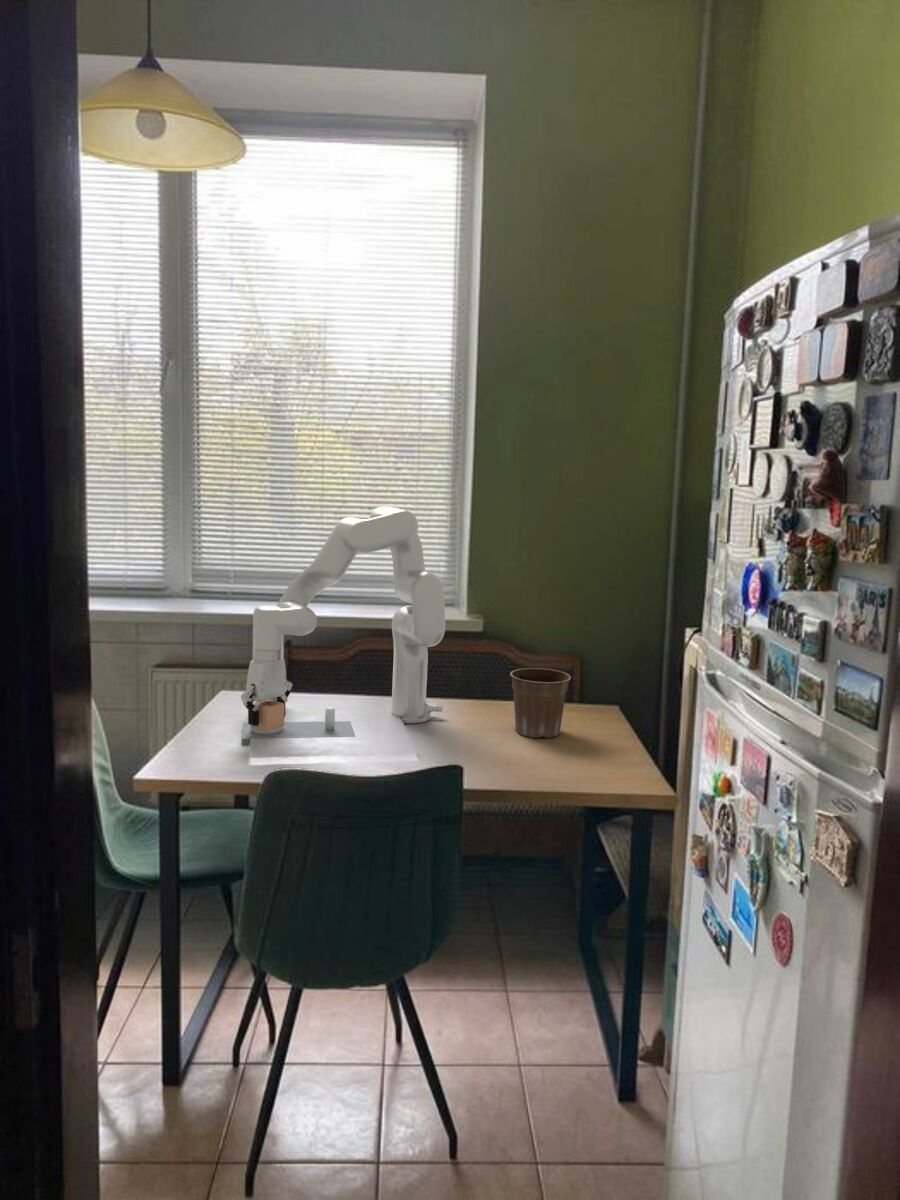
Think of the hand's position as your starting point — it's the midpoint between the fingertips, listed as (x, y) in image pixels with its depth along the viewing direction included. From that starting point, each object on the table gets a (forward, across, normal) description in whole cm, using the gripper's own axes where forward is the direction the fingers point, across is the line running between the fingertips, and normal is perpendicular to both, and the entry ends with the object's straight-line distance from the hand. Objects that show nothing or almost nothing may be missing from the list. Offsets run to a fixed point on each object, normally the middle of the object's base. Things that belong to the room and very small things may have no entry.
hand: (266, 720), depth 222 cm
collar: (+1, 0, 0) cm, 2 cm away
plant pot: (+4, -50, +52) cm, 72 cm away
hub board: (+4, -6, +6) cm, 9 cm away
